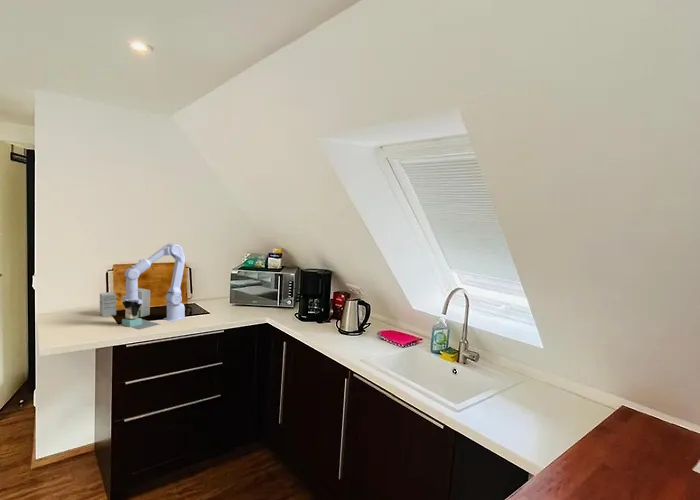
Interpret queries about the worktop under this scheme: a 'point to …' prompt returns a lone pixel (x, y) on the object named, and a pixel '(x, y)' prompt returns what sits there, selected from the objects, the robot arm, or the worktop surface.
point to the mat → (145, 324)
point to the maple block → (129, 313)
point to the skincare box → (144, 302)
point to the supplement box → (108, 304)
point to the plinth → (131, 322)
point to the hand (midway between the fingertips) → (132, 314)
